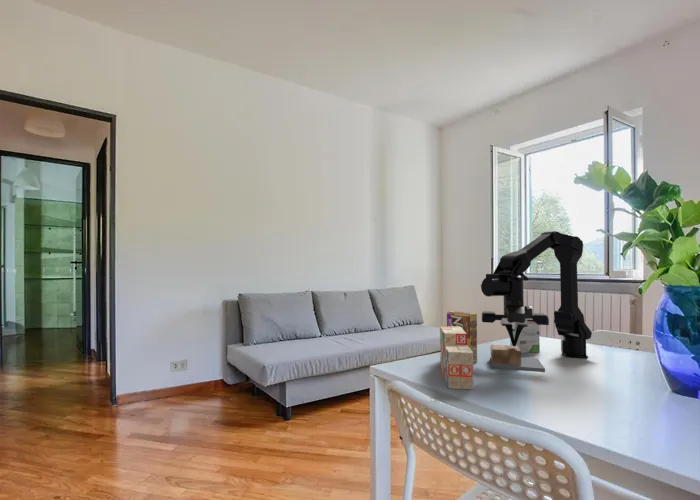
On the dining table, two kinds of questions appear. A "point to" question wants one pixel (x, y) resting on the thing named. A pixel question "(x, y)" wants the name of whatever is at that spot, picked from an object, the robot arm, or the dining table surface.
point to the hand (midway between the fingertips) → (514, 345)
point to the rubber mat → (522, 365)
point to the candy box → (465, 327)
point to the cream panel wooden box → (505, 354)
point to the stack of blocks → (456, 358)
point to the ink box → (528, 338)
